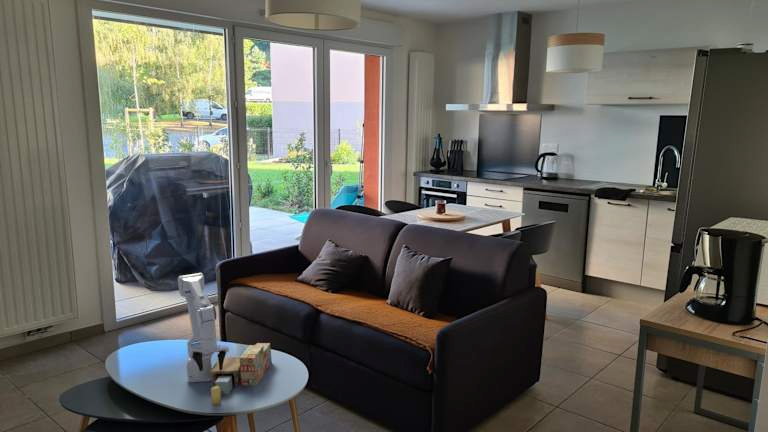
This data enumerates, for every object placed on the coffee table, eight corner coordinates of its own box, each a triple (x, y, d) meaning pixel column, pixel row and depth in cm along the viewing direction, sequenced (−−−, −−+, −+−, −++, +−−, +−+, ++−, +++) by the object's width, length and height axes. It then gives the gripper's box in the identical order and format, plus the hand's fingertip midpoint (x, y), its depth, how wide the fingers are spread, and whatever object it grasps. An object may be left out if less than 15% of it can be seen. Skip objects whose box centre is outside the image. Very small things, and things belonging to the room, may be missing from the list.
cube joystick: (208, 405, 201) (207, 390, 200) (220, 387, 215) (218, 373, 214) (221, 404, 201) (220, 390, 200) (232, 387, 215) (231, 373, 214)
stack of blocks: (258, 362, 238) (256, 336, 235) (271, 362, 237) (270, 336, 235) (241, 385, 217) (239, 357, 214) (256, 386, 216) (254, 357, 214)
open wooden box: (211, 387, 215) (210, 371, 214) (220, 373, 228) (218, 357, 227) (238, 386, 215) (237, 370, 214) (246, 372, 228) (244, 356, 227)
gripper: (186, 341, 203) (189, 375, 205) (224, 340, 203) (227, 373, 205) (192, 334, 210) (195, 366, 212) (229, 333, 210) (231, 365, 212)
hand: (211, 369), depth 209 cm, fingers open, 7 cm apart
